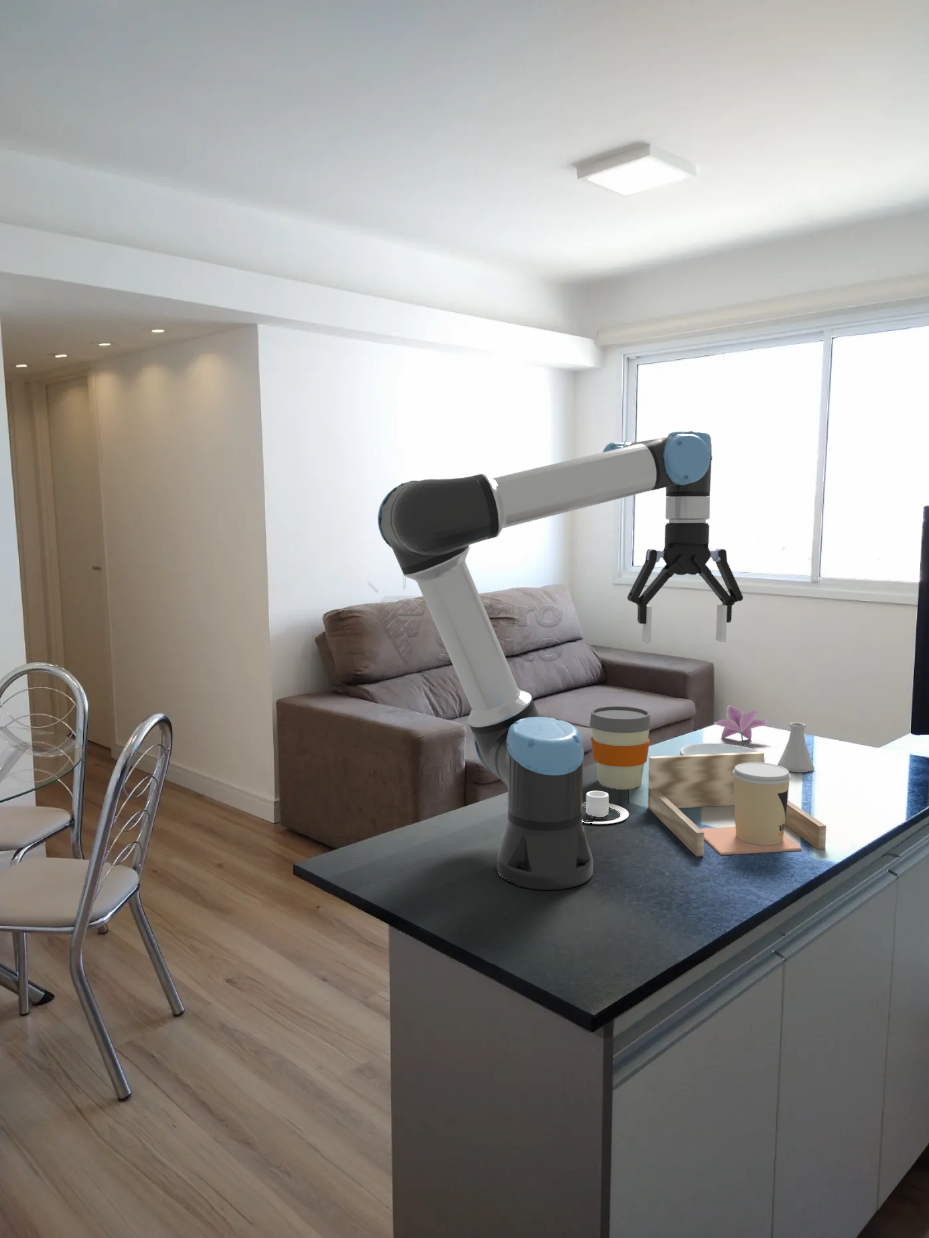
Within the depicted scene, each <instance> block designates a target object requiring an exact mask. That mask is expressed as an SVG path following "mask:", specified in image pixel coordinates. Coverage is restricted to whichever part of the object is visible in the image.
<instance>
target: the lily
mask: <svg viewBox="0 0 929 1238" xmlns="http://www.w3.org/2000/svg"><path fill="white" fill-rule="evenodd" d="M757 712H758V709H757V708H755V709H752V710H751V709H750V710H749V711H747V712H745V713H744V712H743V711H742V710H741V709H739V708H738V707H736V706H734V705H732V704H728V705H727V706H726V719H719V720H717V721H714V722H713V724H714V725H716V726H718V727H719V726H720V727H723V729H722V733H721V738H722V739H725V738H727V737H731V736H733V735H736V734H739V735H740V736H741V737H740V738H741V746H743V747H745V744H744V738H745V739H748V740H751V739H752V735H753V734H752V733H753V732H752V731H753V730H752V729H755V728H760V727H762V726H767V725H770V722H769V721H767V720H765V719H762V718H759V717H756V715H757Z"/></svg>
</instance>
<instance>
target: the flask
mask: <svg viewBox="0 0 929 1238" xmlns="http://www.w3.org/2000/svg"><path fill="white" fill-rule="evenodd" d="M789 727H790V730H789V731H790V732H789V738H788V741H787V743H786V745H785V747H784V750H783V752H782V755H781V757H780V758H779V760H778V763H777V765H778V766H781V767H784V768H786V769H787V770H788V771H789V772H791V773H809V772H812V771H814V769H815V767H814V764H813V760H812V759H811V756H810V753H809V750H808V746H807V743H806V736H805V728H807V725H806V723H801V722H789ZM808 771H809V772H808Z"/></svg>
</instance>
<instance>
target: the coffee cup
mask: <svg viewBox="0 0 929 1238" xmlns="http://www.w3.org/2000/svg"><path fill="white" fill-rule="evenodd" d="M733 776H734V802H735V805H734V820H735V821H734V822H735V824H734V825H735V827H736V836H737V837H738V838H739V839H740V840H742V841H744V842H747V843H751V844H756V845H775V844H779V843H781V842H782V840H783V836H784V835H785V827H786V825H785V819H786V810H787V801H789V788H790V781H791V774H790V771H788V770H787V769H786V768H784V767H781V766H778V764H773V763H769V762H764V763H760V762H749V763H741V764H738V765H736V766H735V769H734V770H733Z"/></svg>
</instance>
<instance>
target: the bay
mask: <svg viewBox="0 0 929 1238" xmlns="http://www.w3.org/2000/svg"><path fill="white" fill-rule="evenodd" d="M749 762H760V763H765V752H762V751H759V752H743V753H720V754H697V755H680V754H678V755H658V756H657V755H656V756H648V784H647V785H648V786H647V787H648V789H647V790H648V791H647V793H648V795H647V797H648V798H647V803H648V804H647V809H649V811H651V812H652V813H653V814H654V815H655V816H656V817H657V818H658V819H659V820H660V821H661V822H662V823H663V824H664V825H665V827H666V828H668V829H669V830H670V831H671V832H672V833H673V835H674V836H676V837H677V838H678V840H680V841H681V842H682V844H683V845H684V846H685V847H686V848H687V849H689V850H690V851H691V853H692V854H694V855H695V857H704V855H705V854H704V853H705V849H704V847H705V840H704V832H703V831H702V830H701V829H702V828H700V827H699V826H698V825H696V824H695V823H694V822H693V821H692V820H691V819H690V817H688V816H687V815H685V814H684V813H683V811H681V810H680V809H685V808H688V809H689V808H703V807H725V806H726V807H727V806H735V802H734V776H733V770H734V769H735V766H736V765H738V764H741V763H749ZM785 827H787V828H788V829H790V830H791V831H793V832H794V833H795V834H797V835H798V836H800V837H801V838H802V839H803V840H804V841H807V843H809V844H810V845H812V846H813V847H815V848H816V849H817V850H825V849H826V842H827V841H826V839H827V838H826V837H827V825H826V824H824V823H823V822H821V821H820V820H818V819H817V818H815V817H814V816H813V815H811V814H810V813H808V812H807V811H805V810H803V809H802V808H800V807H799V806H797V805H796V804H794V803H793V802H791V801H790V800H788V801H787V810H786V819H785Z"/></svg>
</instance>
